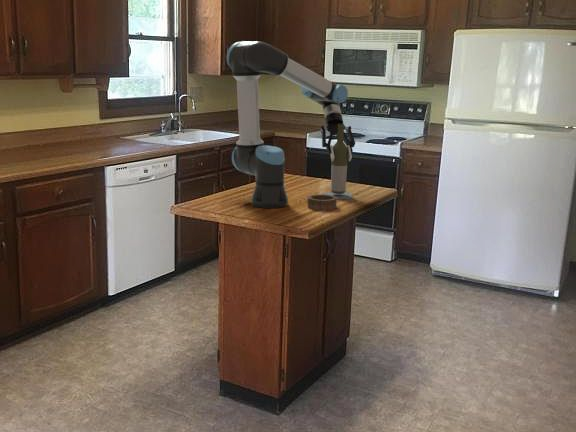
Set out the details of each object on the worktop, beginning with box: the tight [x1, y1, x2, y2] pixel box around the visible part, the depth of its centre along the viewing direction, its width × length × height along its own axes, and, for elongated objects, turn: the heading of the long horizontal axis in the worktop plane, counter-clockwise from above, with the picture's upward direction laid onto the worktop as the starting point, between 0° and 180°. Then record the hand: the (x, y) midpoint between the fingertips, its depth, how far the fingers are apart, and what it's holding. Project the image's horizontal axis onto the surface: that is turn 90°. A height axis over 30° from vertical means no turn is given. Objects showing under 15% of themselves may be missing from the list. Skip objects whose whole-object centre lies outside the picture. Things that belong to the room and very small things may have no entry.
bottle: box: [330, 123, 349, 194], centre depth 277 cm, size 7×7×30 cm
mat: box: [322, 191, 355, 201], centre depth 281 cm, size 12×12×1 cm
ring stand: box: [307, 194, 338, 211], centre depth 260 cm, size 11×11×4 cm
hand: (341, 159), depth 273 cm, fingers closed on bottle, 7 cm apart
